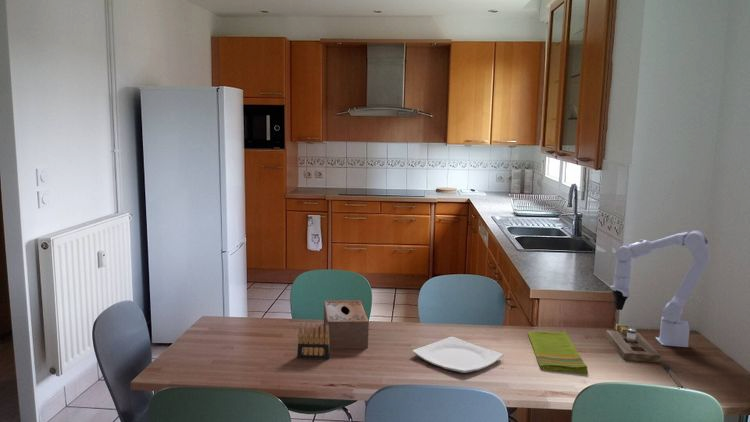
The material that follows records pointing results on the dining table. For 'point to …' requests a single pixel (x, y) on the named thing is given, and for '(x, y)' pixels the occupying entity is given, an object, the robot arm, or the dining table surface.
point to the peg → (631, 335)
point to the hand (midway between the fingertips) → (619, 309)
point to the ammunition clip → (313, 343)
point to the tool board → (633, 347)
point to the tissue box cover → (346, 323)
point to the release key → (622, 328)
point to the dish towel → (556, 352)
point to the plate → (457, 355)
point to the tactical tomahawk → (673, 375)
